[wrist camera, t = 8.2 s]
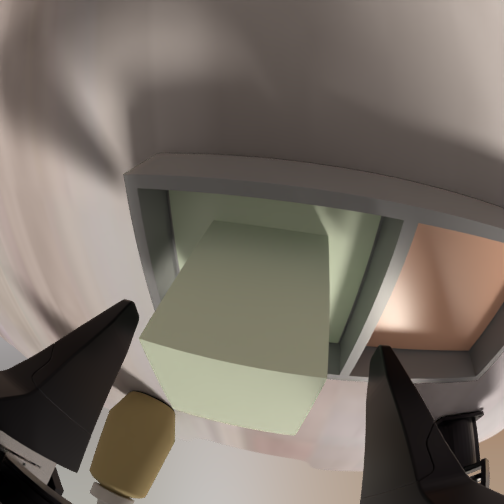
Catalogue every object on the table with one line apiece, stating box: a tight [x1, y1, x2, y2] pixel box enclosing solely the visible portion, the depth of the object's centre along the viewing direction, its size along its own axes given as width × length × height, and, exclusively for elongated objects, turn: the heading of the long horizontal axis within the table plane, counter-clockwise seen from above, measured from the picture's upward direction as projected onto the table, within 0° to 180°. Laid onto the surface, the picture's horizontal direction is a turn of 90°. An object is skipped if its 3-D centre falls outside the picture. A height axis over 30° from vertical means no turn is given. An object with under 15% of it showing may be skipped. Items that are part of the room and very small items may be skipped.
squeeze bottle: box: [90, 391, 175, 504], centre depth 20 cm, size 8×8×18 cm
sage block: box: [139, 220, 330, 436], centre depth 10 cm, size 4×4×6 cm
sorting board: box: [123, 153, 504, 383], centre depth 11 cm, size 18×10×2 cm, turn 89°
